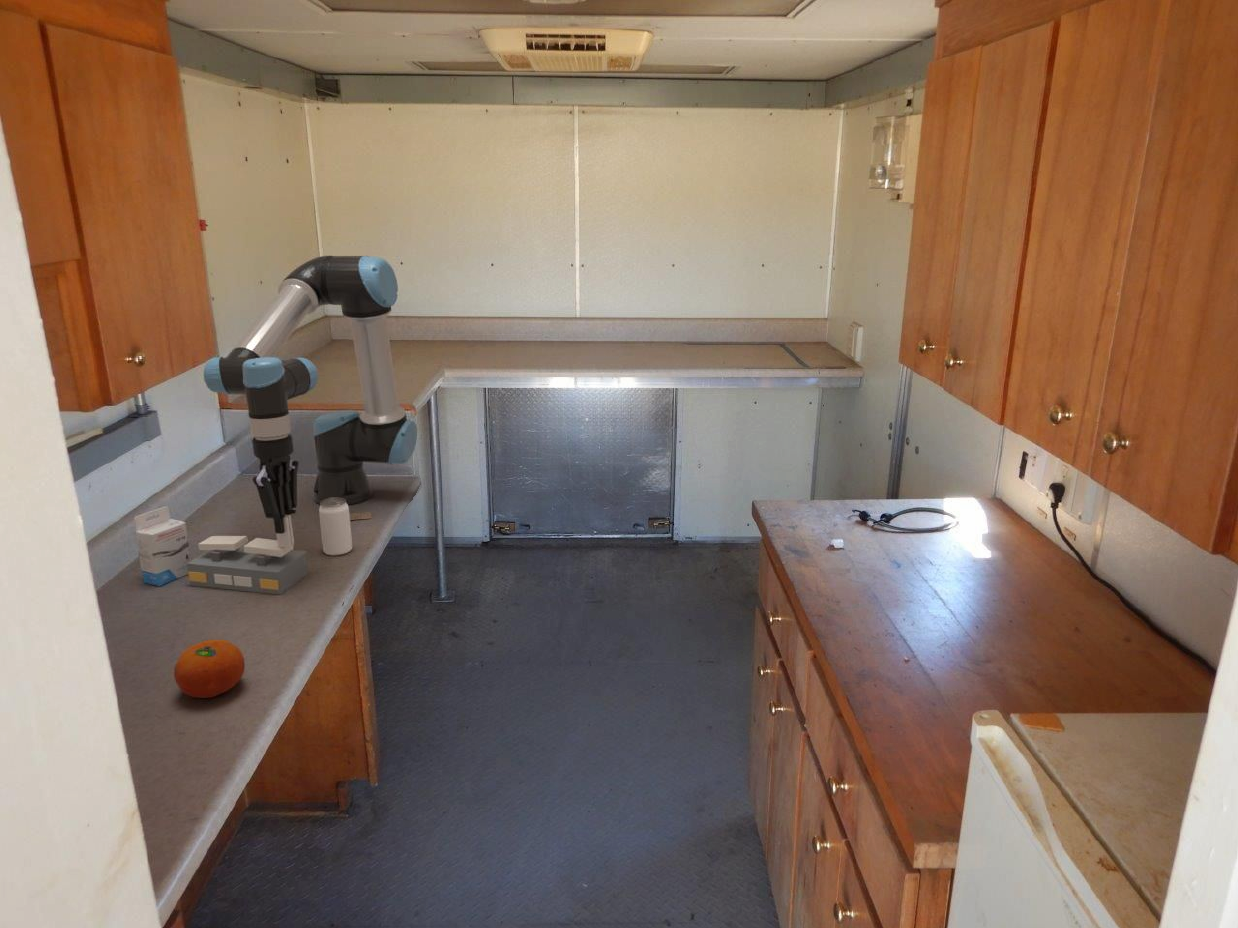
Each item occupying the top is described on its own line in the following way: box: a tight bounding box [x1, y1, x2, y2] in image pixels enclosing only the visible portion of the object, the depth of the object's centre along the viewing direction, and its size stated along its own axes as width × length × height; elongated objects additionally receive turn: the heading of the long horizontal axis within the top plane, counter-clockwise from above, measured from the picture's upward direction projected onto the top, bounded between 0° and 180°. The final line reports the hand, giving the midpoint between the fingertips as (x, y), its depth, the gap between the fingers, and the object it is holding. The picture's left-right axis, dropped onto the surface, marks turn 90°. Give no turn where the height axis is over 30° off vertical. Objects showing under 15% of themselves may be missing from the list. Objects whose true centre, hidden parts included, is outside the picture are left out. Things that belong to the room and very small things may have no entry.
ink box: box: [133, 505, 192, 587], centre depth 185 cm, size 9×5×15 cm, turn 154°
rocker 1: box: [197, 535, 249, 555], centre depth 185 cm, size 5×8×2 cm, turn 78°
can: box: [318, 498, 353, 557], centre depth 199 cm, size 6×6×12 cm
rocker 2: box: [243, 537, 295, 559], centre depth 183 cm, size 5×8×2 cm, turn 78°
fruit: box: [173, 638, 246, 699], centre depth 144 cm, size 11×10×8 cm
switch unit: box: [187, 545, 310, 596], centre depth 185 cm, size 11×21×7 cm, turn 78°
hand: (286, 545), depth 182 cm, fingers closed
